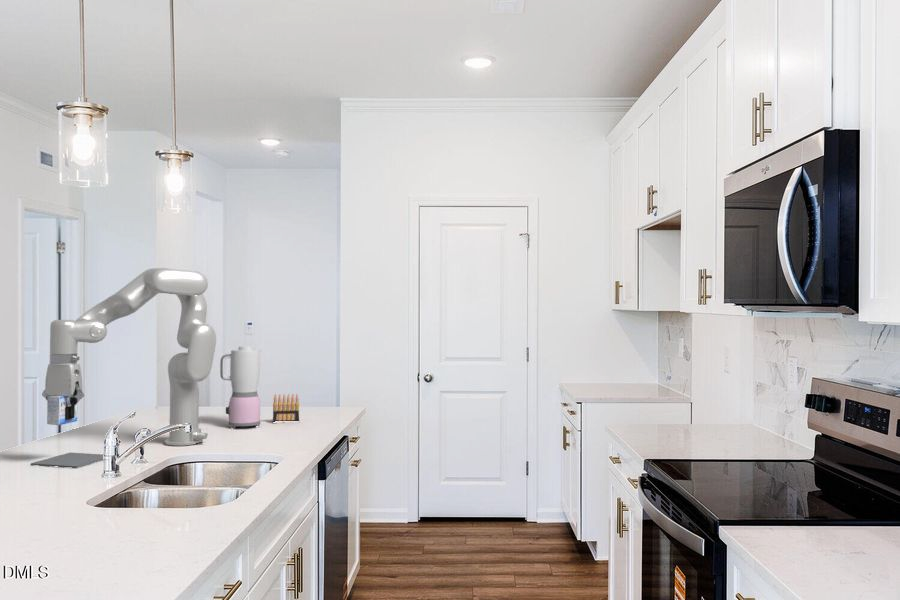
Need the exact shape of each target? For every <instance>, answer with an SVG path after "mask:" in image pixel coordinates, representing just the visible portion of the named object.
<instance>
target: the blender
mask: <svg viewBox="0 0 900 600" xmlns="http://www.w3.org/2000/svg"><path fill="white" fill-rule="evenodd" d="M261 352H262V350H261V349H253V347H252V345H251V346H249V345H246V346H244V345H240V346H238V349H232V350H231V351H230V353H226V354H223V355H222V356H221V358H220V365H219V368H220V372H219V373H220V379H222V380H224V381H230V383H231V389H232V391H231V396H230V398H229V400H228V406H226V407H225V415H228V425H229V426H230V428H231V427H232V428H235V429H236V428H237V427H253V426H255V427H256V426H259V425H261V399H260V397H259V395H258V387H259V380H260V373H261V372H260V369H261V368H260V365H261V360H260V359H261V358H260V353H261ZM226 359H230V362H229V363H230V365H229V367H230V371H229V374H230V376H229V375H226ZM259 427H260V426H259Z"/></svg>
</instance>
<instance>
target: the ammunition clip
mask: <svg viewBox="0 0 900 600" xmlns="http://www.w3.org/2000/svg"><path fill="white" fill-rule="evenodd" d="M286 397H287V398H286ZM277 398H278V399H277ZM272 408H273V409H272V423H273V422H275V421H299V422H300V398H299V394H298V393H296V395H294V393H292V394H291V396H290V394H289V393H288V394H287V396H286V394H285V393H284V394H283V396H282V395H281V393H279V394H278V396H277V394H276V393H275V394H274V396H273V405H272Z"/></svg>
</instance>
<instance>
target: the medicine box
mask: <svg viewBox="0 0 900 600" xmlns="http://www.w3.org/2000/svg"><path fill="white" fill-rule="evenodd" d="M75 396H77V395H75ZM71 400H72V399H71ZM46 403H47V407H46V414H47V415H46V424H47V425H51V426H52V425H53V426H62V425H66V424H70V423H71V424H72V423H74V422H75V423H76V422H77V421H78V403H79V402H78V403H77V405H75V415H74V418H73V419H68V420H67V419H65V407H66V406H67V402H66V397H65V396H50V397H47V400H46Z"/></svg>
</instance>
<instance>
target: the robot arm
mask: <svg viewBox="0 0 900 600" xmlns="http://www.w3.org/2000/svg"><path fill="white" fill-rule="evenodd" d="M208 284H209V281H208V278H207V277H206V276H205V275H204V274H203V273H202V272H199V271H195V270H194V271H193V270H186V269H185V270H184V269H183V270H182V269H176V268H175V269H174V268H165V267H157V268H156V267H155V268H149V269H146V270H144V271H143V272H141V273H140V274H139V275H138V276H136V277H135V278H134V279H132V280H131V281H129V282H128V283H127V284H126V285H125V286H123V287H122V288H121V289H119V290H118V291H117V292H115V293H114V294H111V295H110V296H109V297H106V299H103V300H102V301H100V302H99V303H97V304H96V305H94V306H93V307H91V308H90V309H88V310H87V311H85V312H84V313H83V314H82V315H80V316H79V317H78V318H76V319H75V320H73V319H56V320H53V321H51V322H50V326H49V328H50V329H49V330H50V331H49V332H50V333H49V363H48V364H47V368H46V376H45V381H44V382H45V383H44V384H45V385H44V387H45V389H44V390H43V391H42V393H41V395H42V397H43V398H45V400H46V401H47V397H50V396H65V397H66V402H67V406H66V407H65V419H67V420H68V419H73V418H74V415H75V405H77V403H79V402H80V400H82V399H83V398H84V397H85V394H84V392H83V375H82V369H81V364H80V363H78V361H80V356H78V348H79V346H78V343H89V344H96V343H99V342H101V341H103V340H104V339H105V338H106V336H107V335H108V334H107V333H108V327H107V325H109V324H110V323H112V322H115V321H117V320H118V319H121V318H125V317H128V316H130V315H132V314H134V313H136V312H137V311H138V310H140V308H141V307H143V306H144V305H146V303H148V302H149V301H150V300H152V299H153V298H154V297H156V296H157V295H158V294H169V295H176V296H177V298H178V300H179V302H180V307H181V311H180V318H179V322H178V323H179V325H178V329H177V333H176V334H177V335H176V340H177V341H176V342H177V343H178V345H179V346H180V347H181V348H184V349H186V350H187V352H178V353H176V354H175V355H173V356H172V357H171V358H170V359H169V362H168V365H167V375H168V380H169V426H170V425H172V424H177V423H191V424H192V426H193V430H192V432H191V433H186V432H185V431H184V430H183V429H179V430H175V431H171V432H170V431H169V434H168V435H169V438H166V439H164V445H167V446H176V447H177V446H183V447H184V446H193V445H197V444H196V443H198V444H200V443H199V442H201V443H203V442H202V441H204V440H206V439H207V438H208V435H209V434H208V433H207V432H202V428H199V411H200V410H199V407H200V406H199V403H200V402H199V397H200V391H199V390H200V389H199V383H198V382H203V381H204V380H206V379H207V378H208V377H209V375H210V373H211V370H212V367H213V361H214V358H215V357H214V356H215V352H216V344H217V335H216V330H215V329H214V327H213V326H211V325H210V324H208V323H206V320H207V313H208V306H207V305H208V304H207V301H206V298H205V295H204V293H205V292H206V291H207V289H208ZM75 395H77V396H75ZM71 399H72V400H71Z"/></svg>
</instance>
